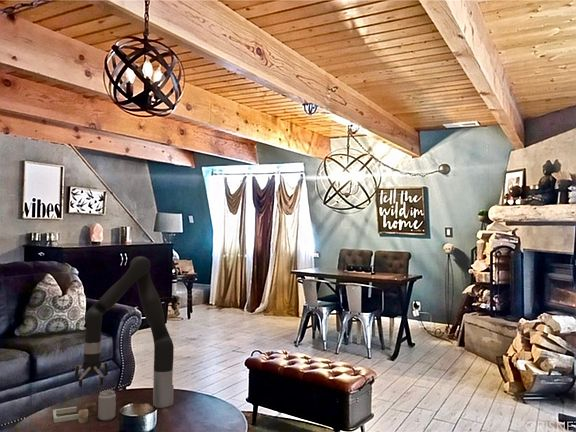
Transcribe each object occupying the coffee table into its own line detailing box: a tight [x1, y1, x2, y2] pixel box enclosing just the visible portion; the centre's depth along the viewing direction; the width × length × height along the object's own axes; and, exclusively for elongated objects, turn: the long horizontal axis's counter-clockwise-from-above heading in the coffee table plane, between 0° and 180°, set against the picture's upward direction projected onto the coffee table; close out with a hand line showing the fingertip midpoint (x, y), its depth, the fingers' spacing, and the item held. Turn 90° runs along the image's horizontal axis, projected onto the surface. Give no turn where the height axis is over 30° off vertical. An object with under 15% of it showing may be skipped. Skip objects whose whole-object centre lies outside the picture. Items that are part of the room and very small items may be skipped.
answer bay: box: [52, 406, 79, 424], centre depth 224 cm, size 10×11×2 cm
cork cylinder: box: [77, 408, 89, 425], centre depth 218 cm, size 4×4×5 cm
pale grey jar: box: [97, 389, 117, 422], centre depth 223 cm, size 8×8×12 cm
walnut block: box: [84, 401, 97, 417], centre depth 228 cm, size 4×4×4 cm
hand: (90, 386), depth 228 cm, fingers open, 8 cm apart
